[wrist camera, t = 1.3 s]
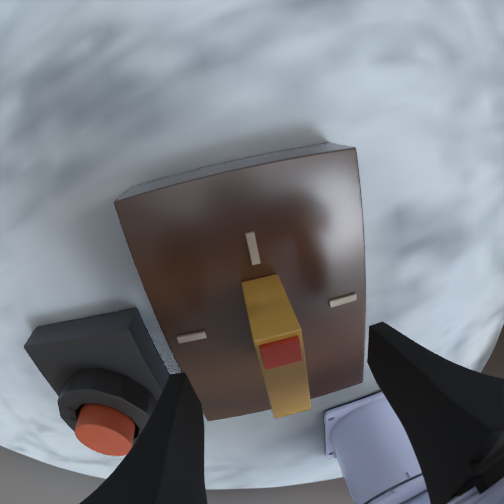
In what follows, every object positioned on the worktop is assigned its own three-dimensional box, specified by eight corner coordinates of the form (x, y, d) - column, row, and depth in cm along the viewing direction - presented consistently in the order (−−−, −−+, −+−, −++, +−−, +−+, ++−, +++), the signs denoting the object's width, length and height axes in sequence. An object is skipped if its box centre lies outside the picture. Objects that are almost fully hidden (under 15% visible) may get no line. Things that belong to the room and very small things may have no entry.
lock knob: (290, 350, 15) (313, 413, 11) (260, 357, 15) (275, 423, 11) (277, 273, 13) (303, 333, 9) (240, 281, 13) (254, 346, 9)
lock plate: (346, 353, 20) (363, 384, 17) (206, 387, 20) (207, 423, 17) (330, 142, 14) (358, 147, 11) (131, 187, 14) (111, 202, 11)
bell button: (144, 434, 16) (142, 456, 15) (98, 435, 16) (94, 455, 14) (118, 400, 15) (113, 423, 13) (70, 403, 15) (63, 424, 13)
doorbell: (195, 419, 21) (195, 461, 17) (107, 426, 21) (100, 464, 17) (136, 306, 17) (121, 352, 13) (36, 326, 16) (11, 365, 13)
